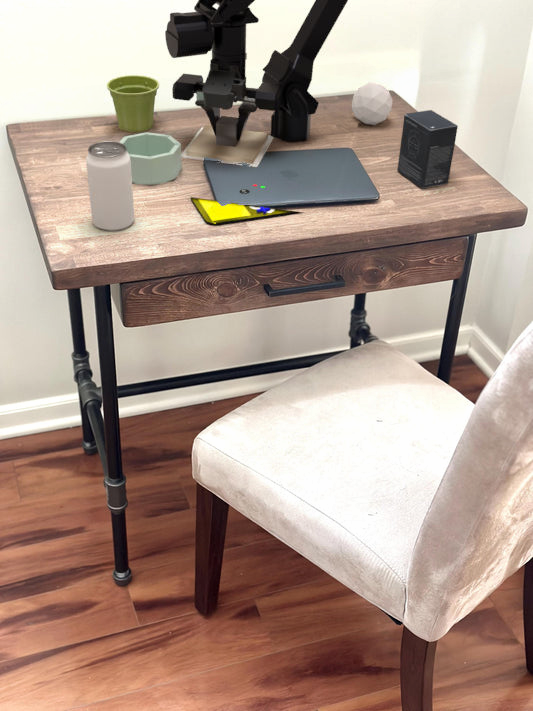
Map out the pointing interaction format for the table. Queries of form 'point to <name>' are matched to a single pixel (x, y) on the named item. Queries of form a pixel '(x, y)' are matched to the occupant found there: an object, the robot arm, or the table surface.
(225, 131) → the lid
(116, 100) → the plant pot
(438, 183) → the box
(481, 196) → the table surface
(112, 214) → the can
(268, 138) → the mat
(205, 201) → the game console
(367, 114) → the geometric ball
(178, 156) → the bowl
